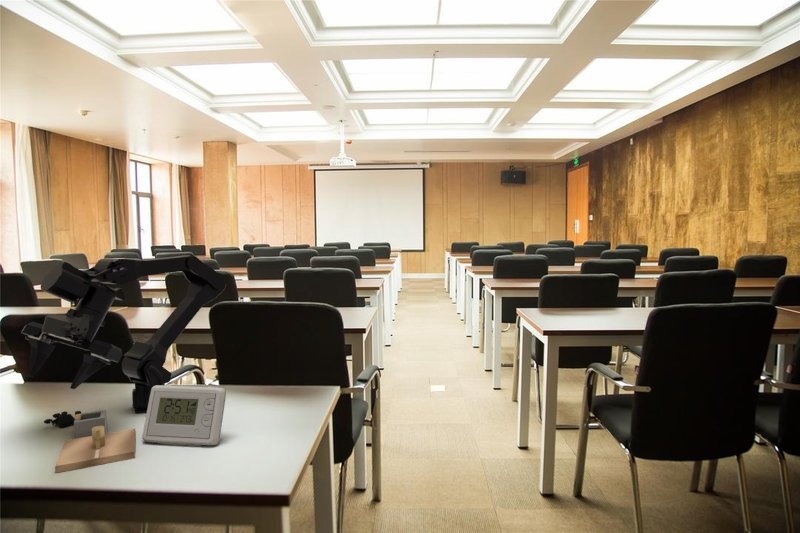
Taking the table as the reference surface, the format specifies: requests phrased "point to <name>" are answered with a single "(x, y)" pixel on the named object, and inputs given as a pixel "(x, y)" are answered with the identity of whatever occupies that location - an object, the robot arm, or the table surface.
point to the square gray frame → (89, 423)
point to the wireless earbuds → (62, 419)
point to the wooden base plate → (96, 449)
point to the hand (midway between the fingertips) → (51, 382)
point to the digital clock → (184, 415)
